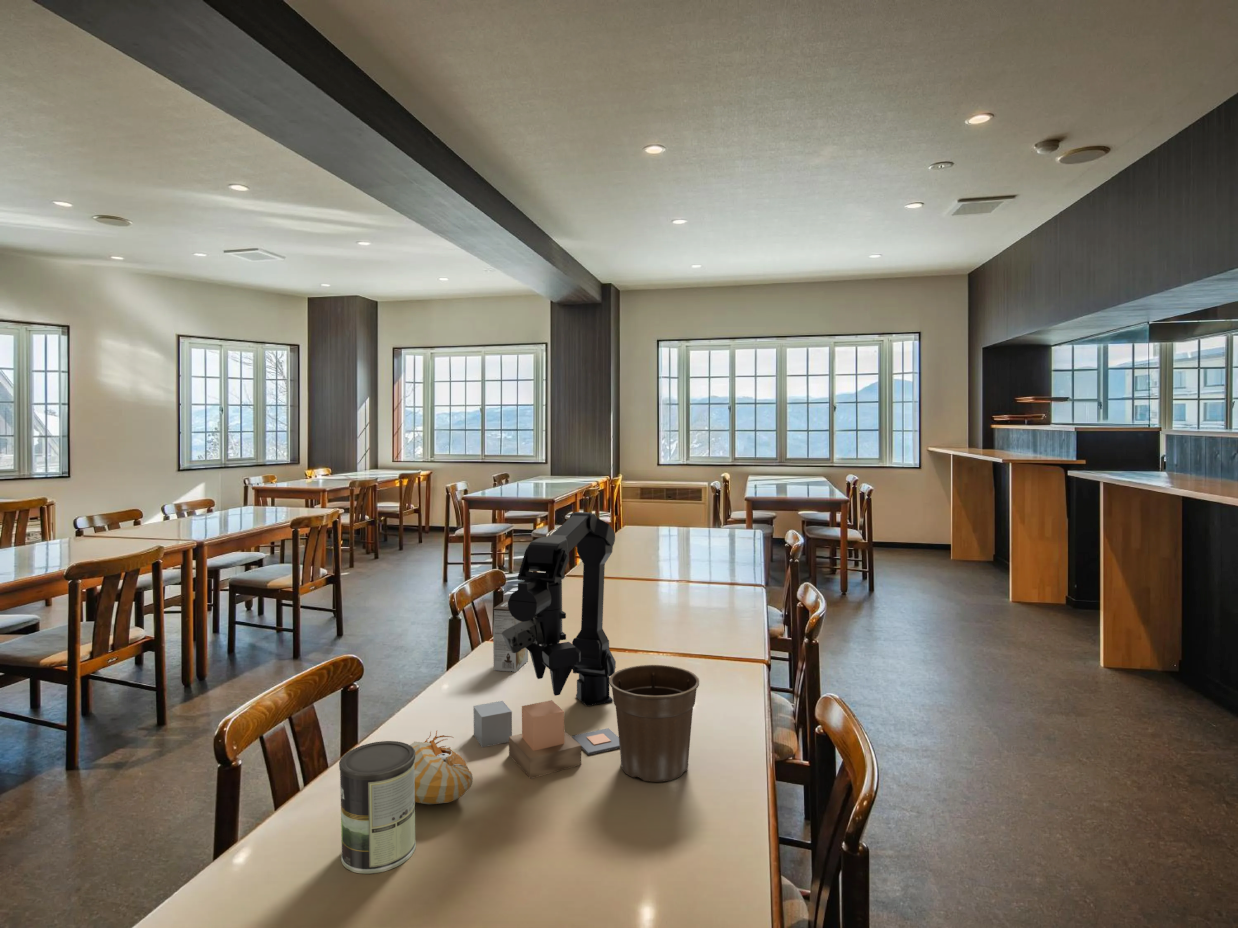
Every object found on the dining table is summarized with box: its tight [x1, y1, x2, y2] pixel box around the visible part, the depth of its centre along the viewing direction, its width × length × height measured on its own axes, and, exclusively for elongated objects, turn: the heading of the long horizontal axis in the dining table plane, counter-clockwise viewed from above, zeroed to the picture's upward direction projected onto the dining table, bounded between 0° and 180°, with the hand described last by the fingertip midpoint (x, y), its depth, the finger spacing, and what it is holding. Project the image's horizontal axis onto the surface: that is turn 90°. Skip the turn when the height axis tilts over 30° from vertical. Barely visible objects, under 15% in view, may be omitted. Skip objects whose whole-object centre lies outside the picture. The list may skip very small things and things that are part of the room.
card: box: [571, 727, 620, 756], centre depth 135 cm, size 8×8×1 cm
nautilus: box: [409, 730, 474, 805], centre depth 118 cm, size 8×22×15 cm
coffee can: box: [338, 740, 417, 875], centre depth 100 cm, size 10×10×14 cm
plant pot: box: [609, 664, 700, 783], centre depth 125 cm, size 16×16×16 cm
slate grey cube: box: [473, 700, 513, 748], centre depth 137 cm, size 6×6×6 cm
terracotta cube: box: [521, 699, 565, 751], centre depth 128 cm, size 6×6×6 cm
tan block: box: [508, 730, 582, 779], centre depth 128 cm, size 10×10×4 cm
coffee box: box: [492, 599, 529, 673], centre depth 179 cm, size 9×6×16 cm
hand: (548, 686), depth 133 cm, fingers open, 9 cm apart
